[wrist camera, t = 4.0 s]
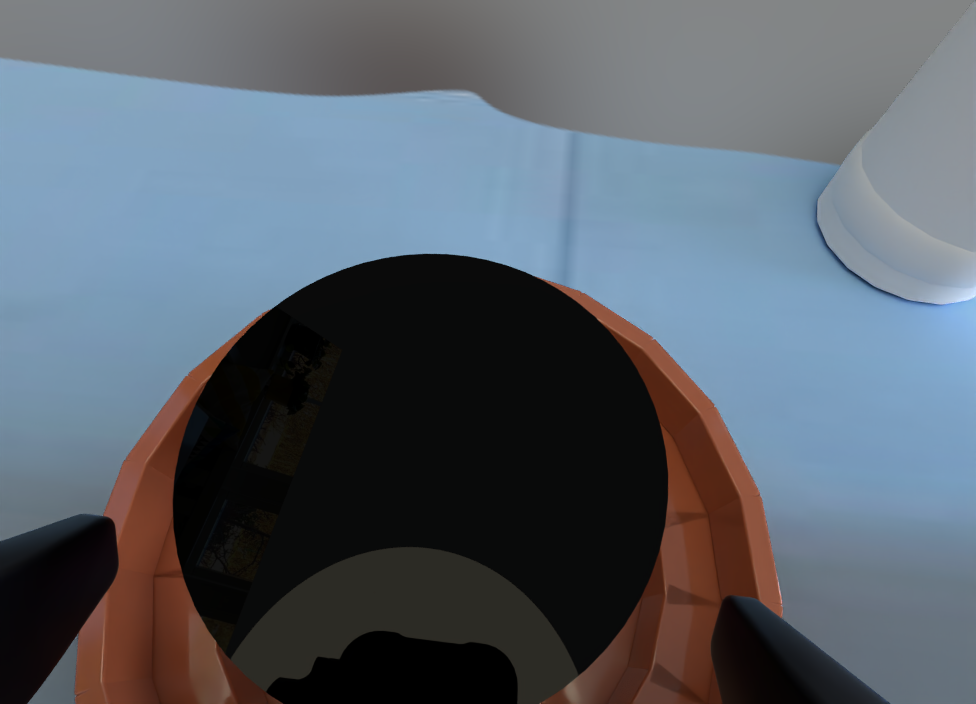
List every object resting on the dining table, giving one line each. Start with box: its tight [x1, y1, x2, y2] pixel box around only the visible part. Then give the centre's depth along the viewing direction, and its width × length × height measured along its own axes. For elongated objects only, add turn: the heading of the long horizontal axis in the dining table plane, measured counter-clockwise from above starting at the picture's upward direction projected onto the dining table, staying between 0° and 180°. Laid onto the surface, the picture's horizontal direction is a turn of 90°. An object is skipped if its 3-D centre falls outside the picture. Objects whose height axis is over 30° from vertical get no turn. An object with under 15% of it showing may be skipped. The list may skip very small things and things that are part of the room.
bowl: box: [74, 276, 783, 704], centre depth 15 cm, size 16×16×4 cm
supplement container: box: [173, 254, 668, 704], centre depth 12 cm, size 7×7×10 cm
